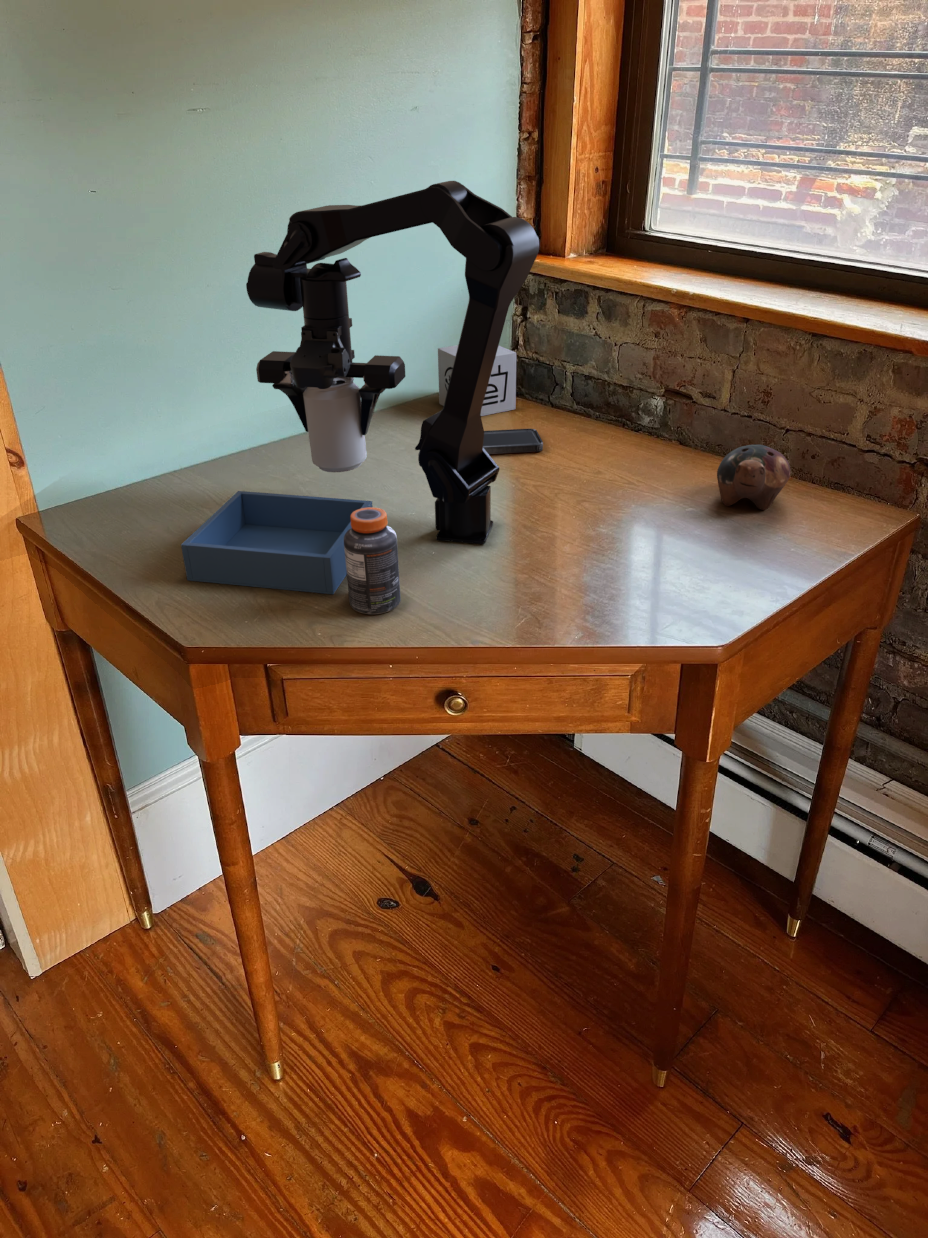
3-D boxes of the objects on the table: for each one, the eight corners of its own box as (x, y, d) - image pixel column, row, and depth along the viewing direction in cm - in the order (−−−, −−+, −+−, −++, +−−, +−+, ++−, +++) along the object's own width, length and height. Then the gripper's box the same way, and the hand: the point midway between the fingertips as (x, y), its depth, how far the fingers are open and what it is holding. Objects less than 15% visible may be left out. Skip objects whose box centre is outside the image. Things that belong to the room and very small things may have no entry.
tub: (374, 534, 126) (372, 500, 124) (333, 594, 112) (329, 557, 110) (242, 523, 130) (238, 490, 127) (187, 580, 116) (180, 544, 113)
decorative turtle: (711, 518, 129) (715, 461, 126) (718, 484, 142) (722, 430, 139) (786, 523, 126) (793, 464, 123) (787, 487, 139) (793, 433, 136)
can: (358, 475, 128) (348, 387, 122) (305, 473, 129) (293, 386, 123) (374, 455, 134) (365, 370, 128) (323, 454, 136) (312, 369, 130)
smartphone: (544, 444, 151) (449, 449, 149) (544, 451, 151) (449, 456, 150) (535, 427, 158) (444, 432, 156) (535, 434, 158) (444, 438, 157)
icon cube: (515, 408, 170) (516, 352, 165) (467, 418, 166) (466, 361, 161) (486, 394, 178) (486, 340, 172) (439, 403, 173) (437, 348, 168)
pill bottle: (401, 590, 113) (396, 501, 107) (400, 615, 108) (395, 523, 102) (350, 591, 113) (343, 502, 107) (347, 616, 108) (339, 525, 102)
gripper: (231, 327, 116) (248, 449, 124) (378, 332, 113) (386, 457, 121) (266, 306, 126) (280, 421, 134) (403, 311, 122) (409, 428, 130)
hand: (336, 432), depth 129 cm, fingers closed on can, 8 cm apart
